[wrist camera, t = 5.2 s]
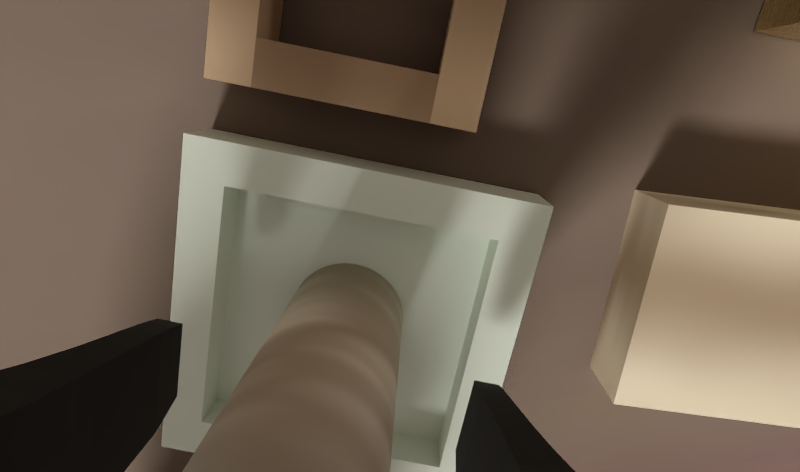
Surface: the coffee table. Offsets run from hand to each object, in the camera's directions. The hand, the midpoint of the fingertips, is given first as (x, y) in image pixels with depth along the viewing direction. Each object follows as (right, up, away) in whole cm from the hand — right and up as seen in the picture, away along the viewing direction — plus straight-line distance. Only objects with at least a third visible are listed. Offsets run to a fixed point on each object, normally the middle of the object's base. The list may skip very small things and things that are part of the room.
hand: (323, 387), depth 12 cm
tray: (0, +1, +4) cm, 4 cm away
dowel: (0, +1, +4) cm, 4 cm away
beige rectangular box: (+13, +2, +4) cm, 13 cm away
